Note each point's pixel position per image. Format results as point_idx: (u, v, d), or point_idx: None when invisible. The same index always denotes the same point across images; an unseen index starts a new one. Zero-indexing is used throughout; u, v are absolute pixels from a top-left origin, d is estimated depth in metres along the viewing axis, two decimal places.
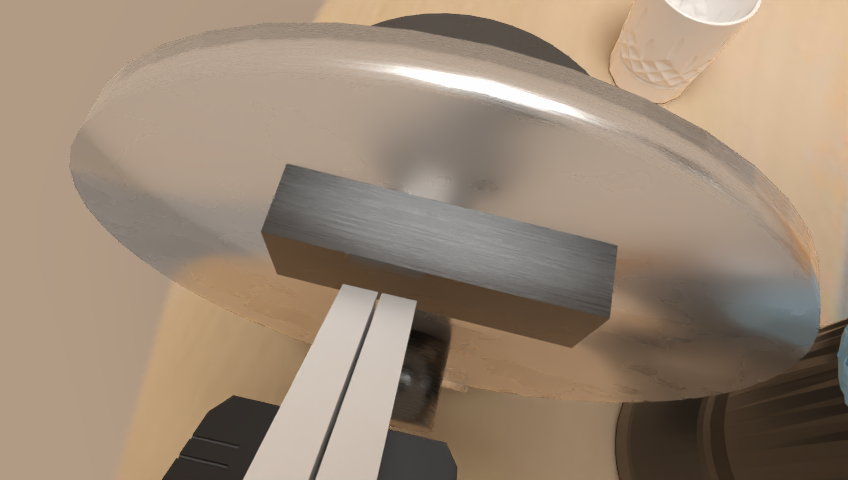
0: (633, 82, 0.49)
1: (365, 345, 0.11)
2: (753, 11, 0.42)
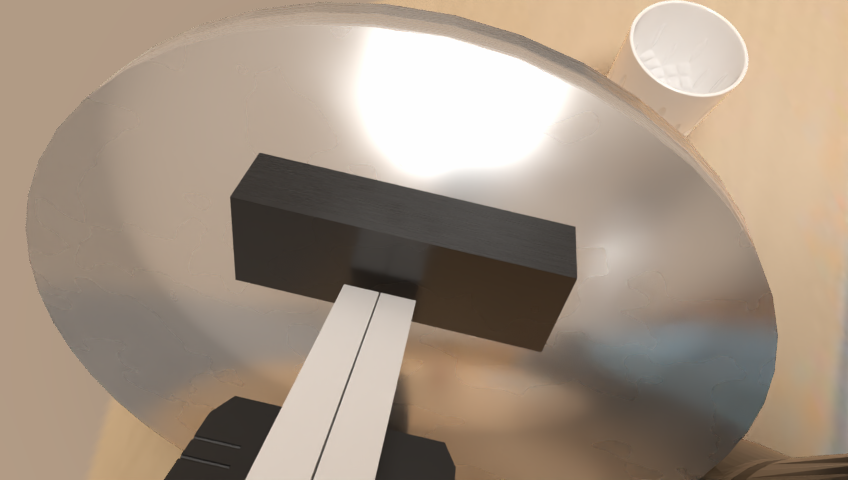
0: None
1: (364, 345, 0.11)
2: (739, 80, 0.39)
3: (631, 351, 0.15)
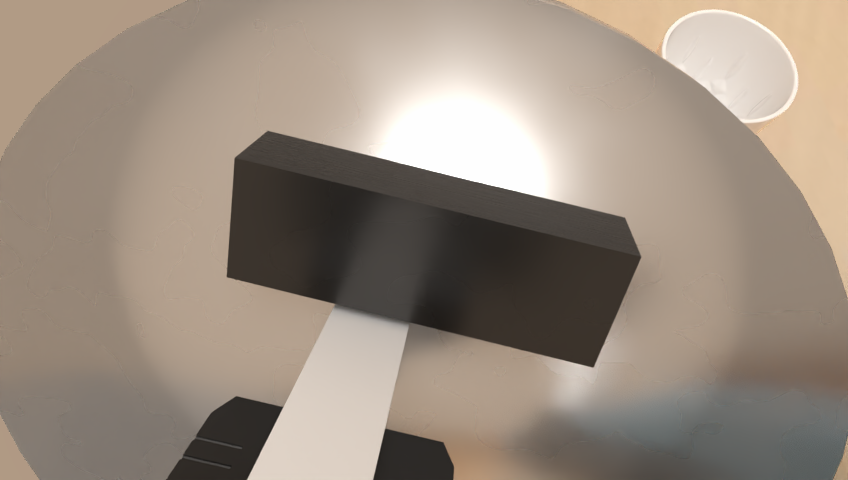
0: None
1: (363, 344, 0.11)
2: (788, 103, 0.34)
3: (686, 388, 0.13)
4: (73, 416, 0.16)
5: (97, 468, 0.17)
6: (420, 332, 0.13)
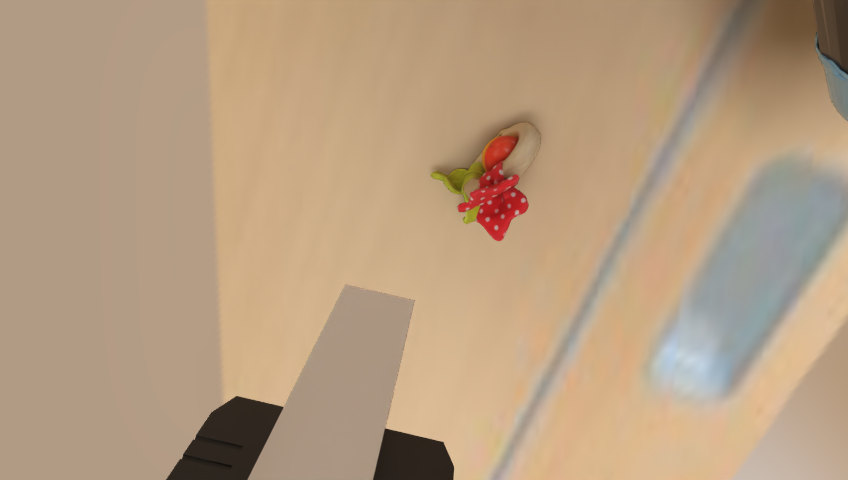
0: None
1: (362, 344, 0.11)
2: None
3: None
4: None
5: None
6: None
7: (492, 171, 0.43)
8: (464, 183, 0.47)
